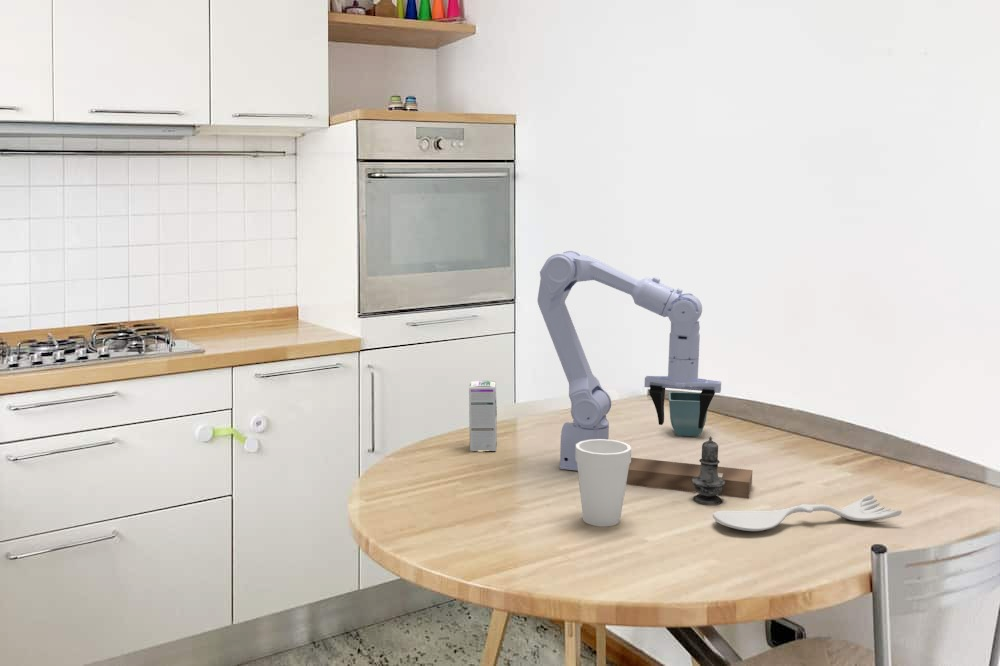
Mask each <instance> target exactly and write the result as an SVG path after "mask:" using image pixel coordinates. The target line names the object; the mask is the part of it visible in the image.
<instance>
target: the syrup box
mask: <svg viewBox="0 0 1000 666" xmlns="http://www.w3.org/2000/svg"><path fill="white" fill-rule="evenodd" d="M468 395H469V398H468V401H469V402H468V405H469V411H468V412H469V415H468V417H469V451H470V452H472V451H478V450H489V451H496V452H497V446H498V445H497V443H498V442H497V441H498V437H497V436H498V435H497V434H498V433H497V431H498V430H497V429H498V428H497V426H498V425H497V423H498V422H497V421H498V419H497V417H498V415H497V408H498V407H497V382H496V381H494V380H474V381H472V380H471V381H470V383H469V387H468Z"/></svg>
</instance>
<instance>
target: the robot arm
mask: <svg viewBox="0 0 1000 666" xmlns="http://www.w3.org/2000/svg"><path fill="white" fill-rule="evenodd" d="M539 276H540V280H539V287H538V293H537V304H538V308H539V311H540V313H541V315H542V318H543V320H544V323H545V326H546V328H547V331H548V333H549V336H550V339H551V340H552V344H553V346H554V349H555V352H556V353H557V357H558V359H559V362H560V364H561V367H562V370H563V371H564V374H565V377H566V380H567V382H568V397H569V399H570V404H571V405H570V406H571V408H570V415H571V418H572V419H573V421H572V422H567V421H566V422H564V423H563V425H562V428H561V431H560V433H561V434H560V448H559V451H560V452H559V453H560V454H559V455H560V459H559V467H558V469H560V470H569V471H577V472H578V466H577V462H576V458H575V455H576V444H577V443H579V442H581V441H585V440H592V439H607V440H609V437H610V436H609V434H610V433H609V431H610V430H609V428H610V427H609V426H610V422H609V420H608V418H607V414H609V412H610V411H611V408H612V400H611V399H612V398H611V397H610V395H609V393H608V392H607V390H605V389H604V388H603V387H602V385H601V382H600V380H599V379H598V378H597V377H596V376H595V375H594V374H593V372H592V369H591V367H590V364H589V362H588V359H587V356H586V354H585V350H584V349H583V346H582V344H581V341H580V338H579V335H578V333H577V330H576V327H575V324H574V323H573V320H572V318H571V317H572V316H571V315H570V312H569V310H568V307H567V305H566V300H567V298H568V296H569V294H570V292H571V290H572V288H573V286H575V285H576V284H577V283H579V282H587V281H589V282H590V281H596V282H598V283H601V284H603V285H605V286H608V287H611V288H613V289H615V290H618V291H620V292H622V293H625V294H627V295H630V296H631V297H632V300H633V301H634V304H635V305H636V306H639V307H641V308H643V309H645V310H648V311H649V312H651V313H654V314H656V315H659V316H660V317H663V318H666V317H667V318H668V320H669V322H670V333H669V339H668V340H669V341H668V342H669V343H668V367H667V368H668V369H667V375H666V376H665V375H656V376H655V375H646V376H645V377H644V388H649V390H648V393H649V396H650V398H651V400H652V402H653V405H654V408H655V410H656V414H657V415H656V416H657V419H658V425H659V426H663V425H664V423H665V398H666V397H665V396H666V394H665V393H666V389H673V390H674V389H676V390H686V391H701V392H699V393H700V415H699V423H698V428H701V429H702V428H703V424H704V419H705V415H706V412H707V413H708V410H709V407H710V405H711V402H712V401H713V398H714V396H715V394H720V393H721V392H722V381H720V380H712V379H705V378H699V360H700V359H699V357H700V338H701V336H700V328H701V327H700V321H699V319H700V318H701V316H702V312H703V305H702V302H701V301H700V300H699V298H698V297H696V296H695V295H693V293H690V292H689V293H683V289H681V288H677V289H675V288H673V287H670V286H668V285H665V284H663V283H661V279H660V278H659V277H655V276H654V277H652V278H651V277H645V278H642V279H640V280H639V279H636V278H635V277H633V276H630V275H628V274H627V273H624V272H623V271H620V270H618V269H616V268H615V267H612V266H610V265H609V264H606V263H604V262H602V261H600V260H598V259H596V258H593V257H591V256H588V255H585V254H582V255H581V254H580V253H579V252H577V251H574V250H568V251H564V252H563V253H555V254H552V255H550V256H549V257H548V258H547V259H546V260H545V262H544V264H543V265H542V267H541V269H540V271H539ZM703 429H704V428H703Z"/></svg>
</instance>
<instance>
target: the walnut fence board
mask: <svg viewBox="0 0 1000 666" xmlns="http://www.w3.org/2000/svg"><path fill="white" fill-rule="evenodd" d="M700 471H701V464H696V463H687V462H677V461H668V460H656V459H648V458H638V457H631V463H630V464H629V470H628V476H627V482H626V485H629V486H630V485H631V486H639V487H648V488H654V489H655V488H656V489H665V490H675V491H683V492H691V493H692V492H693V493H698V492H697V491H696V490H695V487H694V483H693V482H692V479H693V478H695V477H698V476H699V475H700ZM718 477H719V478H720V479H722V480H724V481H725V484H724V485H723V489H722V491H721V492H720V493H719V494H718V495H717V496H726V497H727V496H728V497H736V498H744V499H749V497H750V493H751V489H752V486H753V485H752V484H753V470H752V469H743V468H734V467H727V466H726V467H724V466H718Z"/></svg>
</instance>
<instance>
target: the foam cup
mask: <svg viewBox="0 0 1000 666" xmlns="http://www.w3.org/2000/svg"><path fill="white" fill-rule="evenodd" d="M575 458H576V462H577V466H578V471H577V474H578V475H577V476H578V484H579V493H580V504H581V511H582V513H581V514H582V520H583V522H585V523H586V524H587V525H591V526H594V527H601V528H602V527H613V526H617V525H618V524H619V523H620V519H621V516H622V511H623V505H624V499H625V498H624V497H625V492H626V486H627V484H626V482H627V476H628V470H629V464H630V463H631V458H632V446H631V445H630V444H628V443H626V442H625V441H621V440H620V441H619V440H616V439H608V440H607V439H592V440H585V441H581V442H579V443H577V444H576V455H575Z"/></svg>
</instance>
